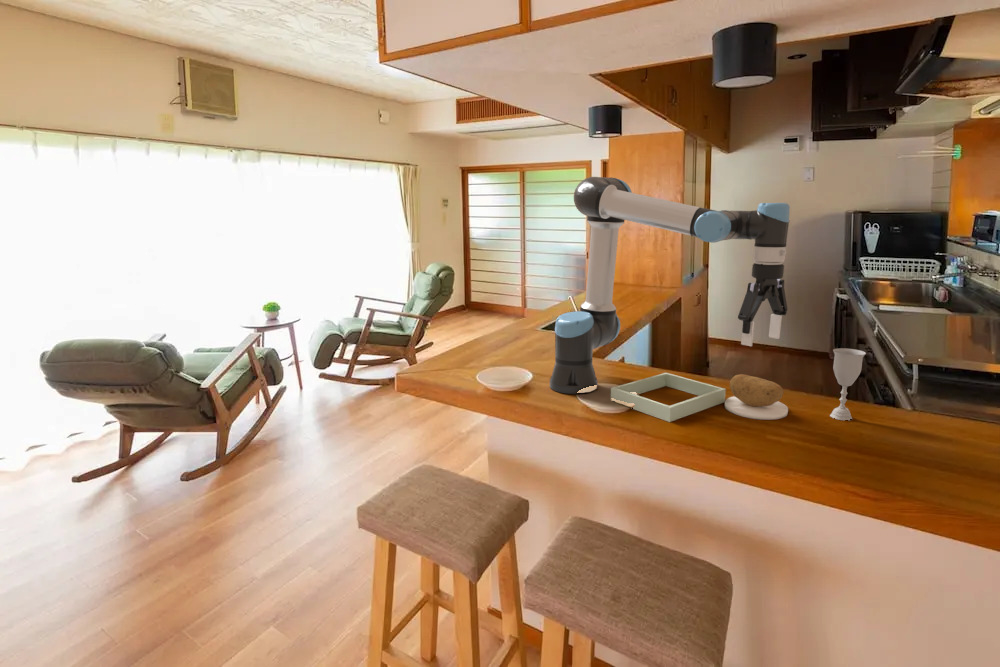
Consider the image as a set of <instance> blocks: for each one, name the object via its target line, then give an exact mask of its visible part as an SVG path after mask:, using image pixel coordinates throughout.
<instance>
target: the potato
mask: <svg viewBox="0 0 1000 667" xmlns="http://www.w3.org/2000/svg"><path fill="white" fill-rule="evenodd" d="M729 389H730V391H731V392H732V395H733V397H734V396H735V397H736V398H738V399H739V400H740V401H742V402H743V403H745V404H747V405H750V406H769V405H772V404H774V403H775V402H777V401H779V402H780V401H781V399H782V397H783V396H784V389H783V387H782V386H781V385H780V384H778V383H776V382H774V381H771V380H767V379H765V378H761V377H758V376H751V375H748V374H744V373H743V374H742V373H741V374H736V375H734V376H733V377H732V378H731V379H730V381H729Z"/></svg>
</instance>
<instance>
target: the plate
mask: <svg viewBox="0 0 1000 667" xmlns="http://www.w3.org/2000/svg"><path fill="white" fill-rule="evenodd" d="M724 408H725V410H727V411H728V412H729V413H731V414H734V415H737V416H739V417H743V418H747V419H751V420H752V419H753V420H761V421H762V420H763V421H764V420H765V421H767V420H768V421H771V420H779V419H784V418H786V417H787V416H788V414H789V413H788V412H789V407H788V406H787V405H786V404H785V403H783V402H781V401H780V400H779V401H777V402H775V403H774V404H772V405H769V406H750V405H747V404H745V403H743V402H742V401H740V400H739V399H738V398H736V397H735V396H734V395H733V396H730V397H728V398H725V402H724Z"/></svg>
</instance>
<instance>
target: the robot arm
mask: <svg viewBox="0 0 1000 667" xmlns="http://www.w3.org/2000/svg"><path fill="white" fill-rule="evenodd" d="M573 202H574V205H575V207H576V210H578V211H579V213H580V214H582V215H584V216H586V222H587V223H588V225H589V226H590V240H589V252H588V266H587V276H586V277H587V279H586V289H585V290H586V291H585V301H584V302H582V303H581V304H580V307H579V310H578V311H576V310H575V311H571V312H569V311H568V312H565V313H562V314H559V315H558V317H557V318H556V319H555V326H554V333H555V334H554V335H555V336H554V337H555V343H554V346H555V347H554V348H555V350H554V353H555V354H554V355H555V357H554V358H555V359H554V361H555V363H554V366H553V370H552V374H551V376H550V378H549V388H550V389H551V390H552V391H555V392H557V393H562V394H568V395H577V394H576V393H577V392H578V391H579V390H581V389H583V388H586V387H589V386H594V385H597V386H598V381H599V380H598V378H597V376H596V372H595V368H594V365H593V353H594V352H593V351H594V350H595V349H598V348H600V347H603V346H607V345H609V344H610V343H612V342H614V340H615V339H617V337H618V336H619V333H620V331H621V321H620V318H619V317H618V314H617V307H616V306H615V304H614V303H613V296H614V284H615V273H616V263H617V262H616V261H617V250H618V241H619V240H618V239H619V231H620V230H619V229H620V227H622V226H623V225H624V224H625V221H629V222H632V223H636V224H640V225H645V226H650V227H653V228H658V229H662V230H666V231H671V232H674V233H677V234H678V233H679V234H682V235H686V236H691V237H694V238H697V239H699V240H701V241H703V242H706V243H712V244H713V243H714V244H715V243H718V242H721V241H729V240H754V247H753V255H752V257H753V258H752V261H753V262H754V263H753V264H752V268H751V277H752V278H753V279H755V282H749V283H748V284H747V288H746V289H747V290H746V293H745V296H744V299H743V302H742V305H741V307H740V310H739V312H738V315H737V319H738V320H739V321H741V322H742V327H741V329H742V330H741V340H740V341H741V342H740V345H742V346H747V347H748V346H749V347H753V341H754V333H755V331H754V330H755V321H754V319H755V316H756V315H757V312H758V311H759V309H760V307H761V305H762V304H763V302H765V301H766V299H767V301H768V303H769V305H770V309H771V311H772V314H770V318H769V320H770V321H769V329H768V338H771V339H777V340H779V339H780V337H781V328H782V320H783V316H787V311H788V303H787V297H786V292H785V279H783V278H784V272H785V265H784V264H783V263H784V262H785V259H786V255H787V250H786V249H787V241H788V235H789V234H788V233H789V225H790V223H791V222H790V208H791V207H790V204H788V203H787V202H760V203H758V205H757V208H756V209H755V210H728V209H725V210H723V209H722V210H715V209H710V208H705V207H699V206H695V205H691V204H685V203H681V202H677V201H673V200H672V201H671V200H667V199H663V198H657V197H654V196H653V197H652V196H649V195H644V194H638V193H634V192H632V189H631V187H630V186H629V185H628V183H627V182H625V181H624V180H623V179H619V178H617V177H605V176H604V177H603V176H602V177H601V176H589V177H587V178H585V179H583V180H581V181H580V182H579V183H578V184H577V185H576V187H575V189H574V192H573Z"/></svg>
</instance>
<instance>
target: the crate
mask: <svg viewBox="0 0 1000 667" xmlns="http://www.w3.org/2000/svg"><path fill="white" fill-rule="evenodd" d="M664 387H668V388H672V389H675V390H678V391H681V392H682V391H683V392H685V393H688V394H691V395H696V396H694V397H691V398H689V399H686V400H683V401H680V402H677V403H674V404H671V405H668V404H665V403H662V402H659V401H655V400H652V399H650V398H647V397H644V396H640V394H644V393H647V392H650V391H654V390H657V389H660V388H664ZM630 392H636V393H639V394H637V395H635V394H632V393H630ZM726 392H727V389H726V388H724V387H721V386H715V385H712V384H710V383H706V382H701V381H698V380H694V379H690V378H687V377H684V376H680V375H676V374H673V373H670V372H662V373H659V374H657V375H656V374H655V375H653V376H649V377H645V378H642V379H637V380H635V381H631V382H628V383H624V384H620V385H617V386H613V387H611V388H610V399H611V398H614V399H616V400H620V401H624V402H627V403H634V404H635V406H634V407H633V409H632V410H634V411H638V412H641V413H643V414H646V415H649V416H652V417H655V418H657V419H659V420H660V419H661V420H662V421H665V422H668V423H671V422H673V421H677V420H679V419H681V418H685V417H687V416H690V415H693V414H697V413H698V412H701V411H704V410H707V409H710V408H712V407H715V406H718V405H720V404H723V403H724V404H725V400H726Z"/></svg>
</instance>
